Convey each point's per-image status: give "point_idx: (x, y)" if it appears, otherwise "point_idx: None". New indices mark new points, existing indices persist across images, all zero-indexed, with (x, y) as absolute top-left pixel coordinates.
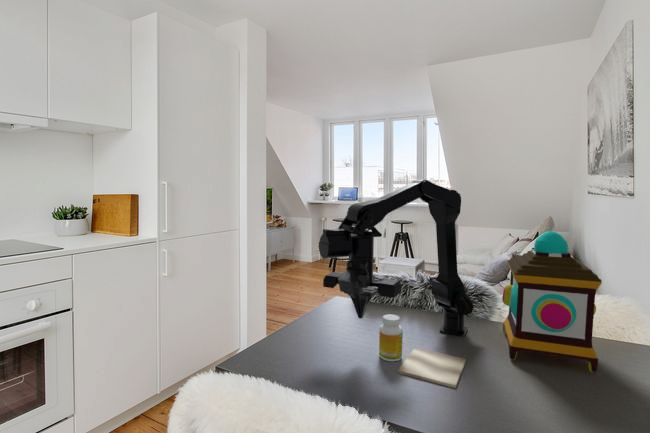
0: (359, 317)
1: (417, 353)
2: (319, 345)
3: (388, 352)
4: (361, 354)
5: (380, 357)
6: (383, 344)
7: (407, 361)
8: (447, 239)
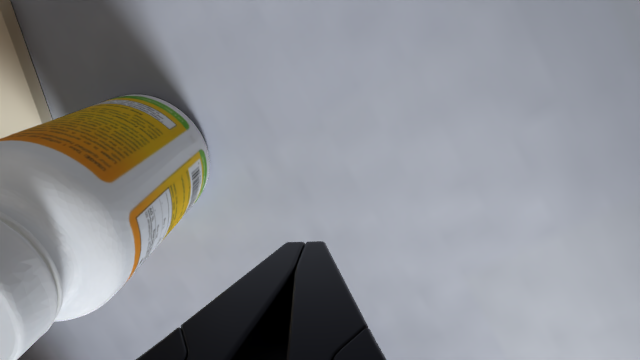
0: (308, 244)
1: None
2: (612, 42)
3: (91, 106)
4: (293, 89)
5: (179, 110)
6: (99, 119)
7: None
8: None
